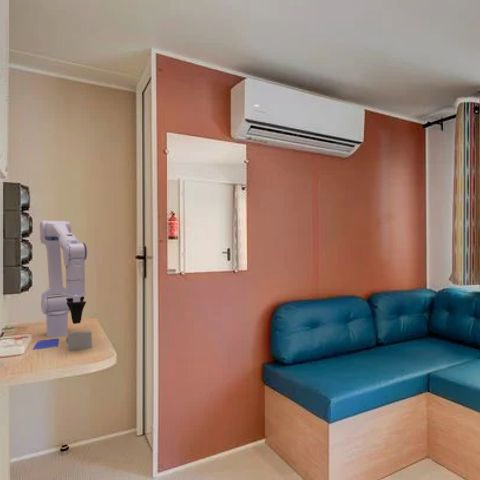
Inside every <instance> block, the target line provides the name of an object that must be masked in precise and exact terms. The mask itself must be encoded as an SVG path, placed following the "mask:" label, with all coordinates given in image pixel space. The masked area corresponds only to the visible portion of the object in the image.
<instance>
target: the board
mask: <svg viewBox="0 0 480 480" xmlns="http://www.w3.org/2000/svg"><path fill="white" fill-rule="evenodd" d="M92 334H93V333H92V330H82V331H75V332H68V334H67V336H68V344H67V350H68V352H70V351H71V352H72V351H77V350H78V351H79V350H85V349H92V347H93V345H92V344H93V343H92V338H93V337H92V336H93V335H92Z"/></svg>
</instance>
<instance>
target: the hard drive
mask: <svg viewBox="0 0 480 480" xmlns="http://www.w3.org/2000/svg"><path fill="white" fill-rule="evenodd" d="M59 343H60V338H51V339H42V340H41V339H40V340H39V341H37V342H36V343H35V345H34V346H33V348H32V351H36V350H44V349H53V348H58V347H59Z"/></svg>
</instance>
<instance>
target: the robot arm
mask: <svg viewBox="0 0 480 480" xmlns="http://www.w3.org/2000/svg"><path fill="white" fill-rule="evenodd" d="M39 240H40V243H41V244H43V245H44V246H45V248H46V256H47V270H48V271H47V272H48V273H47V274H48V286H49V287H48V288H47V289H46V290H45V291H44V292H43V293H42V294H41V296H40V297H41V301H40V309H41V312H42V313H43V314H44V315H45V317H46V318H45V319H46V320H45V321H46V324H45V325H46V337H47V338H57V337H59V338H60V337H63V336H68V333H69V322H68V321H69V320H68V319H69V316H68V315H69V313H70V315H71V322H72V323H73V325H77V324H81V322H82V316H83V312H84V308H85V305H87V301H86V300H85V301H84V299H85V296H86V295H87V292H86V276H85V275H86V273H85V271H86V265H85V261H86V260H87V258H88V247H87V244H86V243H85V242H80V241H79V240H78V238H77V236H76V235H75V234H73V233H72V225H71V222H70V221H69V220H45V219H43V220H41V222H40V223H39ZM61 250H62V253H61ZM62 257H63V262H64V263H63V265H64V266H65V287H64V283H63V268H62Z"/></svg>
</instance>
